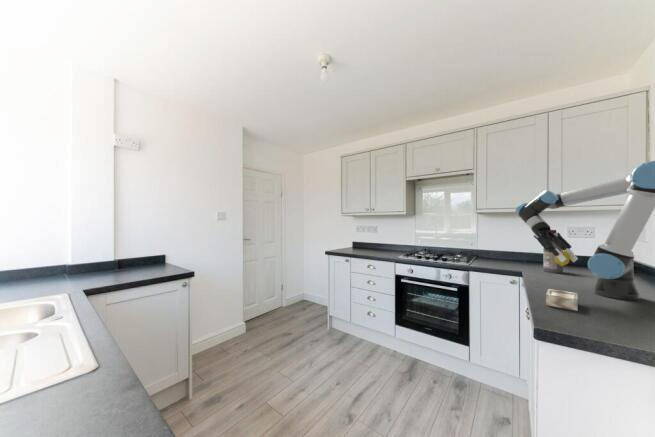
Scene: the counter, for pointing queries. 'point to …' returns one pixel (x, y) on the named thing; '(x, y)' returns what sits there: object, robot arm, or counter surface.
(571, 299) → the display riser
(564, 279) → the counter surface
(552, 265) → the liquor
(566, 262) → the lemon
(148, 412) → the counter surface
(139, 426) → the counter surface
